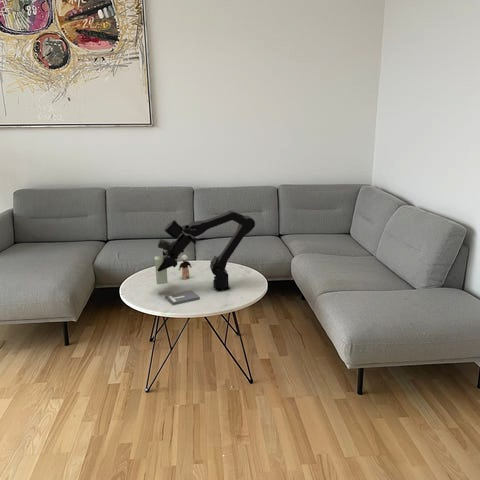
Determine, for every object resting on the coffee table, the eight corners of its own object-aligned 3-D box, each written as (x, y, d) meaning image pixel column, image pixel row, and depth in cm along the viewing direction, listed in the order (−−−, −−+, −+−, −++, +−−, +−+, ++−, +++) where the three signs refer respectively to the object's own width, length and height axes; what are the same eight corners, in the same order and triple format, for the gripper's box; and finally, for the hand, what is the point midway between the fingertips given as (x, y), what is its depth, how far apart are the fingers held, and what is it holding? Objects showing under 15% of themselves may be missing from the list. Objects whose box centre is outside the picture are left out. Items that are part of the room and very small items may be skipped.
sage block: (167, 279, 212) (165, 255, 209) (167, 283, 207) (165, 258, 204) (156, 280, 211) (154, 256, 208) (156, 284, 206) (154, 259, 203)
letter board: (191, 292, 212) (191, 289, 212) (199, 299, 203) (199, 296, 203) (165, 297, 206) (165, 294, 206) (172, 305, 198) (172, 302, 197)
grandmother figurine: (188, 275, 234) (186, 252, 231) (193, 277, 232) (192, 253, 228) (177, 279, 228) (175, 256, 225) (182, 281, 226) (181, 257, 223)
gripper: (166, 228, 212) (144, 252, 213) (168, 238, 195) (144, 264, 196) (183, 243, 216) (162, 266, 217) (187, 254, 198) (163, 279, 199)
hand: (158, 269), depth 207 cm, fingers closed on sage block, 5 cm apart
